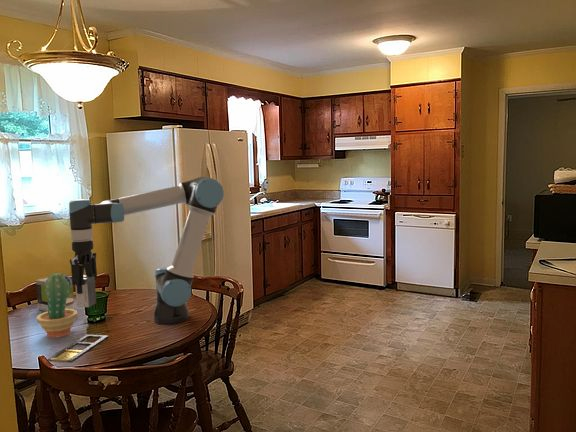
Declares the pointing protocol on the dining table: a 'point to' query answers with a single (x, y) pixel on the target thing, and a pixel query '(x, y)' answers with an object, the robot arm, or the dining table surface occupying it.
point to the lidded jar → (69, 303)
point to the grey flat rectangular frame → (74, 354)
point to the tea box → (42, 294)
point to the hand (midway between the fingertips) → (86, 299)
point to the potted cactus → (57, 307)
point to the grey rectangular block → (88, 292)
